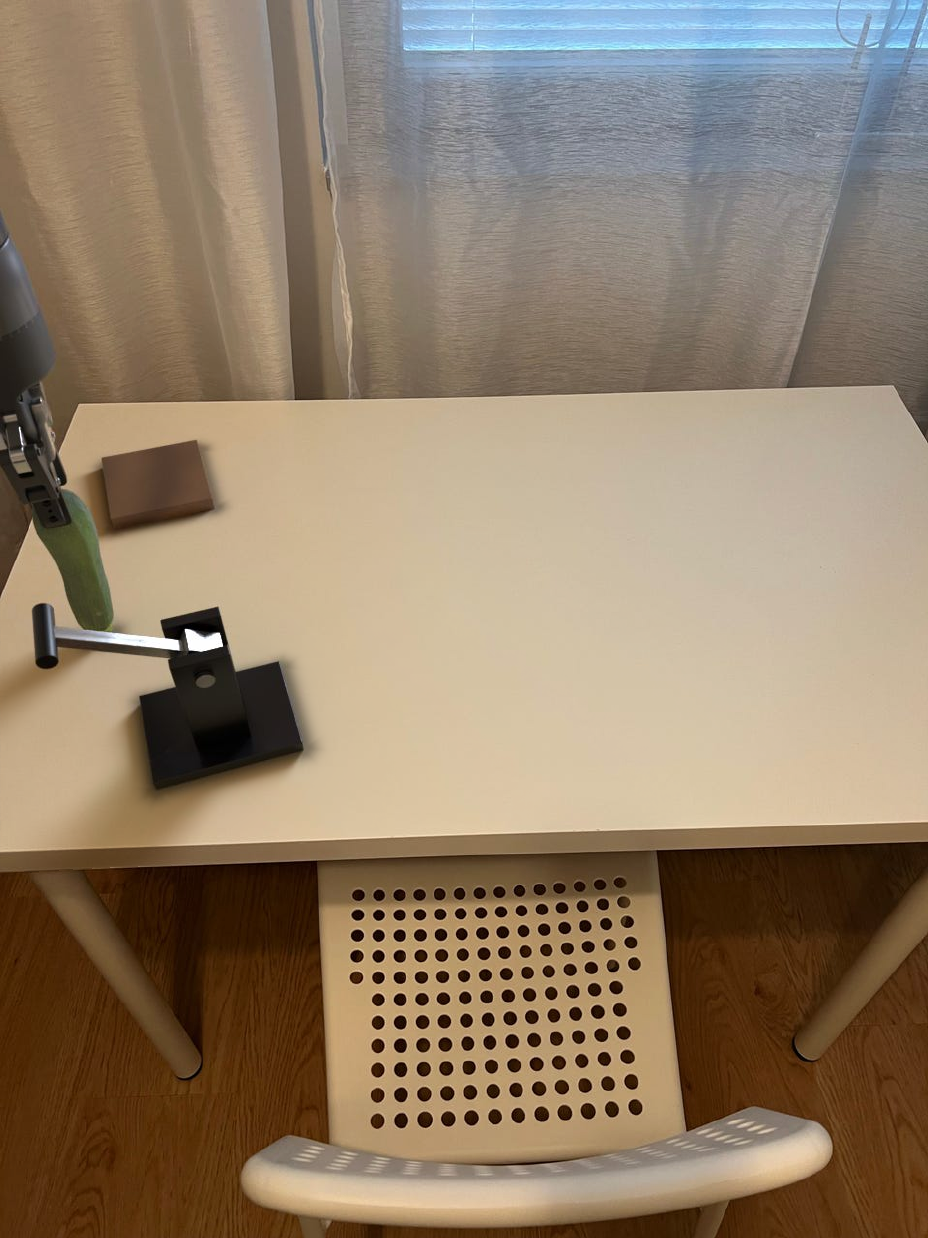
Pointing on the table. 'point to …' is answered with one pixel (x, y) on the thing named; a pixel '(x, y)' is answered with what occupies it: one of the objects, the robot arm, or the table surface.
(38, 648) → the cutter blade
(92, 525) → the vegetable
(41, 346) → the robot arm
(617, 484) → the table surface
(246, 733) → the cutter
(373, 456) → the table surface
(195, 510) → the board
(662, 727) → the table surface
